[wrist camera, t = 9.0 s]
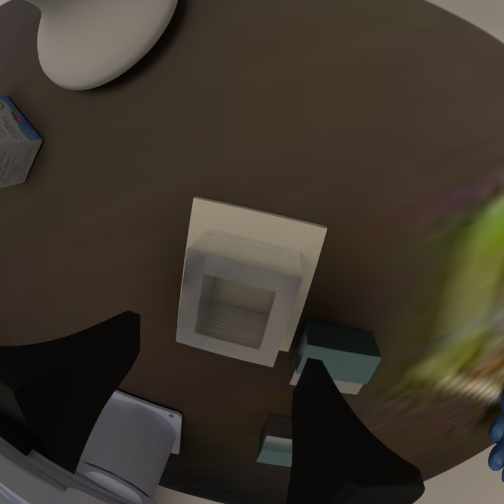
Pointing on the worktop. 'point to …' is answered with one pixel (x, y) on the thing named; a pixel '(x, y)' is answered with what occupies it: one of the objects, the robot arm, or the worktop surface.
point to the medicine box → (15, 144)
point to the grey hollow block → (231, 316)
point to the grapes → (499, 432)
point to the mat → (265, 230)
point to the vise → (339, 367)
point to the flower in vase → (97, 37)
